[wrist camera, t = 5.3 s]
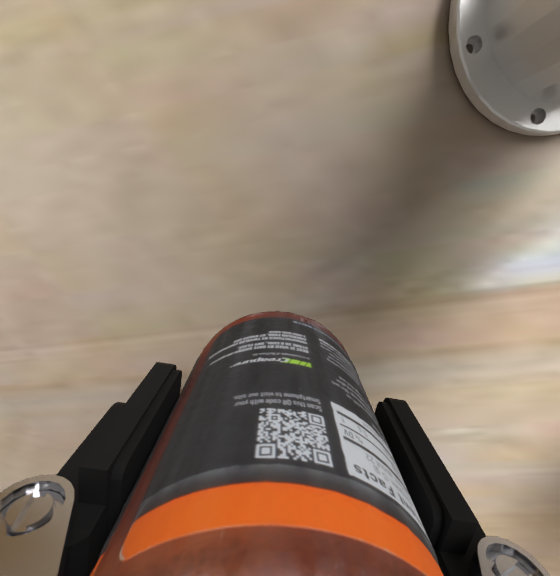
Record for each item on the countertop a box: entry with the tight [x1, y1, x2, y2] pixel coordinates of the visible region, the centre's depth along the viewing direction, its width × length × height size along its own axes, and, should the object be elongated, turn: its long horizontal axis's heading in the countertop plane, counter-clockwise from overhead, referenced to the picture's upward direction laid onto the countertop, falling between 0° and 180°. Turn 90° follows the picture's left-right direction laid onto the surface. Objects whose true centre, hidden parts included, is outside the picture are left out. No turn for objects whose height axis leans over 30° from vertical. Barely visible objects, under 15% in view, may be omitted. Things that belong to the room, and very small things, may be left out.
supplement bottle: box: [90, 311, 444, 576], centre depth 7 cm, size 6×6×11 cm
